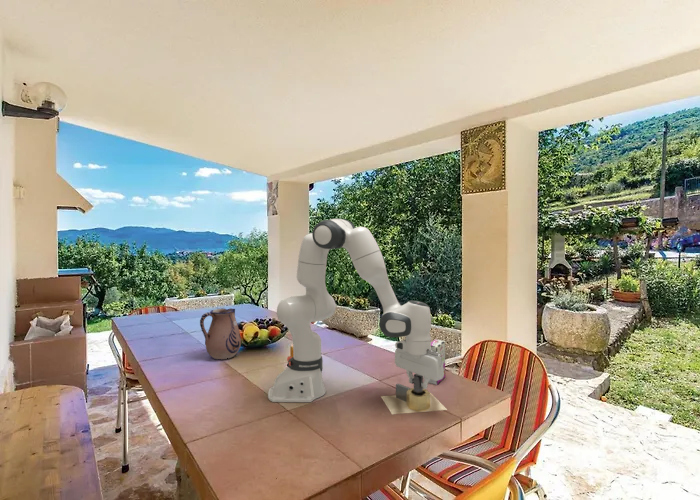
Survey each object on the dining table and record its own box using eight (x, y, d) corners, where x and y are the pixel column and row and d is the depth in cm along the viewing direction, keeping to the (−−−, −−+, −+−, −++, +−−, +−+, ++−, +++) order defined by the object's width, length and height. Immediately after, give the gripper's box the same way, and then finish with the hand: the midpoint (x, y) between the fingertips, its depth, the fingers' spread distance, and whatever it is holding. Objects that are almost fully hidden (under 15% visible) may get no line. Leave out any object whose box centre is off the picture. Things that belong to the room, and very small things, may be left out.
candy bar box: (434, 375, 166) (434, 339, 166) (445, 377, 163) (445, 340, 163) (426, 383, 156) (426, 344, 156) (437, 385, 154) (437, 346, 153)
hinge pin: (416, 408, 128) (417, 377, 128) (411, 404, 131) (412, 374, 131) (424, 407, 130) (424, 376, 130) (419, 403, 133) (419, 373, 132)
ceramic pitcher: (248, 355, 195) (247, 308, 195) (214, 366, 178) (214, 315, 177) (226, 350, 205) (226, 306, 205) (192, 360, 187) (192, 311, 187)
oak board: (392, 418, 124) (392, 414, 124) (380, 400, 139) (380, 396, 139) (447, 414, 128) (447, 409, 128) (430, 396, 142) (430, 392, 142)
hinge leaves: (406, 412, 126) (406, 397, 126) (395, 396, 139) (395, 383, 138) (437, 409, 128) (437, 395, 128) (423, 394, 140) (423, 381, 140)
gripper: (447, 351, 124) (447, 392, 124) (403, 339, 140) (403, 375, 140) (435, 355, 120) (435, 397, 120) (392, 342, 136) (391, 379, 136)
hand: (418, 385), depth 130 cm, fingers open, 4 cm apart
